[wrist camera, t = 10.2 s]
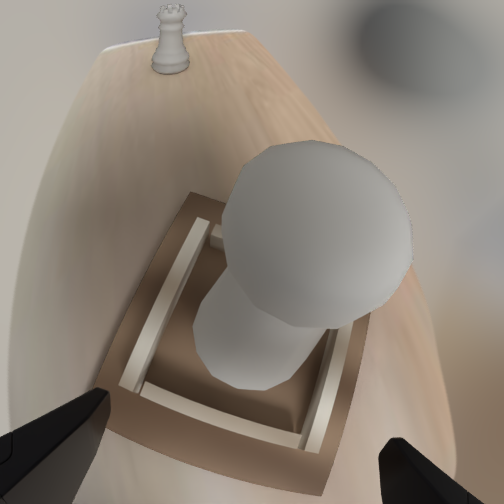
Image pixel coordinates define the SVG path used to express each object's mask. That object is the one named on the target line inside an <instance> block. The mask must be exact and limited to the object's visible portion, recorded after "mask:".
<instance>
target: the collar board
mask: <svg viewBox="0 0 504 504" xmlns="http://www.w3.org/2000/svg"><path fill="white" fill-rule="evenodd" d="M225 207H226V204H225V203H222V202H219V201H216V200H213V199H211V198H208V197H205V196H202V195H199V194H196V193H193V192H190V193H189V195H188V197H187V199H186V200H185V202H184V204H183V205H182V207H181V209H180V211H179V212H178V214H177V216H176V218H175V219H174V221H173V223H172V225H171V227H170V228H169V230H168V232H167V234H166V236H165V238H164V239H163V241H162V243H161V245H160V247H159V249H158V250H157V252H156V254H155V256H154V258H153V260H152V262H151V264H150V266H149V268H148V270H147V271H146V273H145V275H144V277H143V279H142V281H141V283H140V285H139V287H138V289H137V291H136V293H135V295H134V297H133V299H132V301H131V303H130V305H129V308H128V310H127V312H126V314H125V316H124V318H123V320H122V322H121V324H120V326H119V329H118V331H117V333H116V335H115V337H114V340H113V342H112V344H111V346H110V348H109V351H108V353H107V355H106V358H105V360H104V362H103V364H102V367H101V369H100V371H99V374H98V376H97V379H96V381H95V383H94V386H93V388H92V389H94V388H96V387H100V388H102V389H105V390H108V391H109V392H110V399H111V413H110V417H109V419H108V422H107V425H106V428H107V429H109V430H111V431H113V432H115V433H117V434H119V435H121V436H123V437H125V438H127V439H130V440H132V441H134V442H136V443H138V444H140V445H143V446H145V447H147V448H149V449H152V450H154V451H156V452H159V453H161V454H164V455H166V456H169V457H171V458H174V459H176V460H179V461H182V462H184V463H187V464H190V465H193V466H196V467H199V468H202V469H205V470H208V471H211V472H214V473H217V474H220V475H224V476H227V477H231V478H234V479H238V480H242V481H245V482H249V483H253V484H257V485H262V486H266V487H271V488H275V489H280V490H285V491H291V492H296V493H302V494H308V495H315V496H322V493H323V490H324V488H325V485H326V482H327V480H328V477H329V474H330V471H331V468H332V465H333V462H334V459H335V456H336V453H337V450H338V447H339V443H340V440H341V437H342V434H343V430H344V427H345V423H346V420H347V416H348V413H349V409H350V405H351V401H352V397H353V393H354V389H355V385H356V381H357V377H358V373H359V368H360V364H361V359H362V354H363V350H364V345H365V340H366V334H367V329H368V324H369V318H370V312H369V313H368V314H366V315H364V316H362V317H360V318H358V319H356V320H355V321H353V322H351V323H349V324H347V325H344V326H342V327H340V328H338V329H326V331H325V332H324V334H323V335H322V337H321V338H320V340H319V341H318V343H317V344H316V346H315V347H314V349H313V350H312V351H311V353H310V354H309V356H308V357H307V359H306V360H305V361H304V362H303V364H302V365H301V366H300V367H299V368H298V370H297V371H296V372H295V373H294V374H293V376H292V377H291V378H290V379H289V380H287V381H284V382H282V383H280V384H278V385H276V386H274V387H272V388H270V389H267V390H265V391H263V390H247V389H237V388H235V387H233V386H231V385H229V384H227V383H225V382H223V381H221V380H219V379H217V378H215V377H214V376H212V375H211V373H210V372H209V370H208V369H207V367H206V366H205V364H204V363H203V361H202V360H201V358H200V357H199V355H198V354H197V352H196V346H195V340H194V333H193V327H192V326H193V323H194V321H195V318H196V315H197V312H198V310H199V307H200V304H201V302H202V300H203V299H204V298H205V296H206V295H207V294H208V292H209V291H210V290H211V288H212V287H213V285H214V284H215V283H216V281H217V280H218V279H219V277H220V276H221V275H222V273H223V272H224V271H225V269H226V268H227V267H228V266H227V260H226V255H225V249H224V244H223V238H222V232H221V226H222V214H223V211H224V209H225Z"/></svg>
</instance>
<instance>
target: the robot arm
mask: <svg viewBox="0 0 504 504" xmlns="http://www.w3.org/2000/svg"><path fill="white" fill-rule="evenodd" d="M110 413H111V399H110V392H109V391H108V390H105V389H102V388H100V387H96V388H94V389H92V390H90V391H88V392H86V393H85V394H83V395H81V396H79V397H77V398H75V399H73V400H72V401H70V402H68V403H66V404H64V405H62V406H60V407H58V408H56V409H55V410H53V411H51V412H49V413H47V414H45V415H43V416H41V417H39V418H37V419H35V420H33V421H31V422H29V423H27V424H25V425H24V426H22V427H20V428H18V429H16V430H14V431H13V432H9V433H7V434H5V435H3V436H1V437H0V504H72V502H73V500H74V498H75V496H76V494H77V491H78V489H79V487H80V485H81V483H82V481H83V479H84V477H85V475H86V473H87V471H88V469H89V467H90V465H91V463H92V461H93V459H94V457H95V455H96V453H97V450H98V447H99V444H100V442H101V439H102V436H103V433H104V430H105V428H106V425H107V422H108V419H109V417H110ZM378 460H379V472H380V486H381V496H382V502H383V504H484V503H482V502H481V501H480V500H478V499H477V498H476V497H474V496H473V495H472V494H471V493H469V492H467V490H465V489H464V488H463V487H462V486H460V485H459V484H458V483H457V482H455V481H454V480H453V479H452V478H450V477H449V476H448V475H447V474H446V473H444V472H443V471H442V470H441V469H439V468H438V467H437V466H436V465H435V464H433V463H432V462H431V461H430V460H428V459H427V458H426V457H425V456H424V455H422V454H421V453H420V452H419V451H418V450H416V449H415V448H414V447H413V446H412V445H411V444H409V443H408V442H407V441H406V440H405V439H403V438H401V437H397V438H391V439H390V440H389V441H388V442H387V444H386V445H385V446H384V448H383V449H382V450H381V452H380V453H379V458H378Z"/></svg>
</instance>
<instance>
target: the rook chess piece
mask: <svg viewBox="0 0 504 504" xmlns="http://www.w3.org/2000/svg"><path fill="white" fill-rule="evenodd" d="M186 15H187V13H186V12H185V11H184V6H183V5H181V6H180V4H176V5H175V8H172V4H169V5H167V8H166V9H165V6H161V8H160V12H159V13H158V14H157V18H158V19H159V20H160V21H161V23H160V25H159V27H158V28H159V29H160V38H159V44H158V48H156V52H155V53H154V54H153V57H152V61H153V63H152V65H151V66H152V68H153V69H154V70H155V71H156V72H158V73H160V74H176V73H179V72H182V71H184V70H185V69H186V68H187V67H188V66H189V63H190V62H189V61H188V59H189V53H188V52H187V51H186V48H185V46H184V44H183V37H182V28H183V27H184V25H183V23H182V21H183V19H184V18H185V17H186Z"/></svg>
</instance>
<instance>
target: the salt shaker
mask: <svg viewBox="0 0 504 504" xmlns="http://www.w3.org/2000/svg"><path fill="white" fill-rule="evenodd" d="M221 232H222V238H223V244H224V249H225V255H226V260H227V266H228V267H227V268H226V269H225V271H224V272H223V273H222V275H221V276H220V277H219V279H218V280H217V281H216V283H215V284H214V285H213V287H212V288H211V290H210V291H209V292H208V294H207V295H206V296H205V298H204V299H203V300H202V302H201V304H200V307H199V310H198V312H197V315H196V318H195V321H194V323H193V326H192V327H193V333H194V340H195V346H196V352H197V354H198V355H199V357H200V358H201V360H202V361H203V363H204V364H205V366H206V367H207V369H208V370H209V372H210V373H211V375H212V376H214V377H215V378H217V379H219V380H221V381H223V382H225V383H227V384H229V385H231V386H233V387H235V388H237V389H247V390H263V391H265V390H267V389H270V388H272V387H274V386H276V385H278V384H280V383H282V382H284V381H287V380H289V379H290V378H291V377H292V376H293V374H294V373H295V372H296V371H297V370H298V368H299V367H300V366H301V365H302V364H303V362H304V361H305V360H306V359H307V357H308V356H309V354H310V353H311V351H312V350H313V349H314V347H315V346H316V344H317V343H318V341H319V340H320V338H321V337H322V335H323V334H324V332H325V331H326V329H338V328H340V327H342V326H344V325H347V324H349V323H351V322H353V321H355V320H356V319H358V318H360V317H362V316H364V315H366V314H368V313H369V312H371V311H373V310H375V309H377V308H378V307H380V306H382V305H384V304H385V303H386V302H387V300H388V299H389V298H390V297H391V296H392V294H393V293H394V292H395V291H396V290H397V288H398V286H399V285H400V283H401V281H402V279H403V278H404V276H405V274H406V272H407V270H408V269H409V267H410V265H411V263H412V261H413V234H412V224H411V220H410V217H409V214H408V212H407V209H406V207H405V205H404V203H403V201H402V199H401V196H400V195H399V192H398V190H397V188H396V186H395V185H394V184H393V183H392V182H391V181H390V180H389V179H388V178H387V177H386V176H385V175H384V174H383V173H382V172H381V171H380V170H379V169H378V168H377V167H376V166H375V165H374V164H373V163H372V162H371V161H369V160H367V159H365V158H363V157H362V156H360V155H358V154H357V153H355V152H353V151H351V150H349V149H348V148H346V147H344V146H340V145H335V144H330V143H325V142H320V141H315V140H309V141H301V142H294V143H287V144H281V145H276V146H270V147H269V148H267V149H266V150H265V151H263V152H262V153H260V154H259V155H258V156H256V157H255V158H253V159H252V160H251V161H249V162H248V163H247V164H245V165H244V166H243V168H242V170H241V172H240V174H239V177H238V179H237V181H236V183H235V185H234V188H233V190H232V192H231V195H230V197H229V199H228V202H227V204H226V207H225V209H224V211H223V214H222V226H221Z"/></svg>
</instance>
